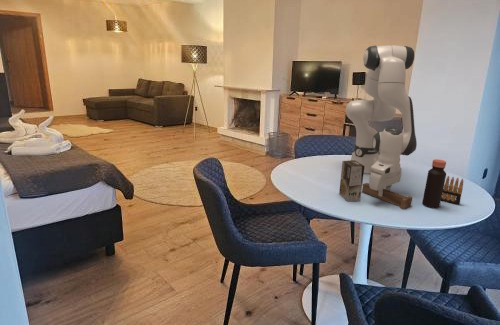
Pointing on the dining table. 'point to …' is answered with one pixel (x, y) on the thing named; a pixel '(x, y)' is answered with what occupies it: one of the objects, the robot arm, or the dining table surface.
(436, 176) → the bottle
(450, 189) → the ammunition clip
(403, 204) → the walnut pusher
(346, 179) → the coffee box
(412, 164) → the dining table surface
